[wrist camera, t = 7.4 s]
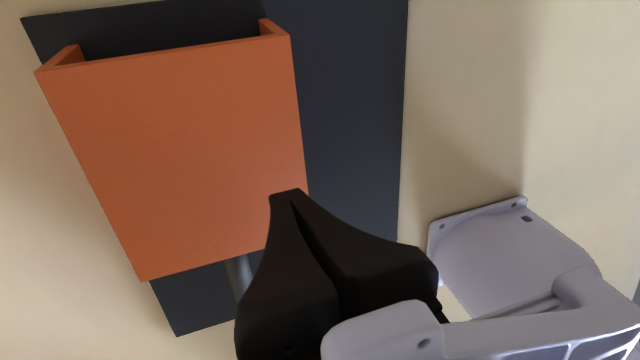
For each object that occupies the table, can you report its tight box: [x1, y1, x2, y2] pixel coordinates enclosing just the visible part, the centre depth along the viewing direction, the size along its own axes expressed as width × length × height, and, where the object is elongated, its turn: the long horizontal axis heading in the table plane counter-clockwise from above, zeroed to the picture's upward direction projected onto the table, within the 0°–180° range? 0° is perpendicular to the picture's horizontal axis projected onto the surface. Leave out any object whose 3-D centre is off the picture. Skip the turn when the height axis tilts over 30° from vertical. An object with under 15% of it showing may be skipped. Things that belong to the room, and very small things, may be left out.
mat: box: [20, 0, 408, 337], centre depth 23 cm, size 18×22×1 cm
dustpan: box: [33, 18, 309, 303], centre depth 20 cm, size 4×17×9 cm
